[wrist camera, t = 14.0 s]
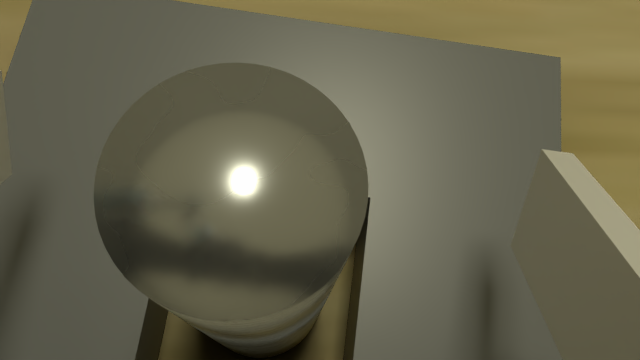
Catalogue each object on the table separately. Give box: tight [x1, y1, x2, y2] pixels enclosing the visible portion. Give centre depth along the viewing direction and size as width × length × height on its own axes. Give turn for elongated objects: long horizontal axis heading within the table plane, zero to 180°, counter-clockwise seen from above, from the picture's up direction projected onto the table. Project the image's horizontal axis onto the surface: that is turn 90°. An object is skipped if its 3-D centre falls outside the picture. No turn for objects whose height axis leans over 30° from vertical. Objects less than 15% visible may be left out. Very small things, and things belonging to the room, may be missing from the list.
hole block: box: [0, 0, 563, 360], centre depth 19 cm, size 18×18×3 cm
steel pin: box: [93, 63, 369, 358], centre depth 14 cm, size 4×4×12 cm
